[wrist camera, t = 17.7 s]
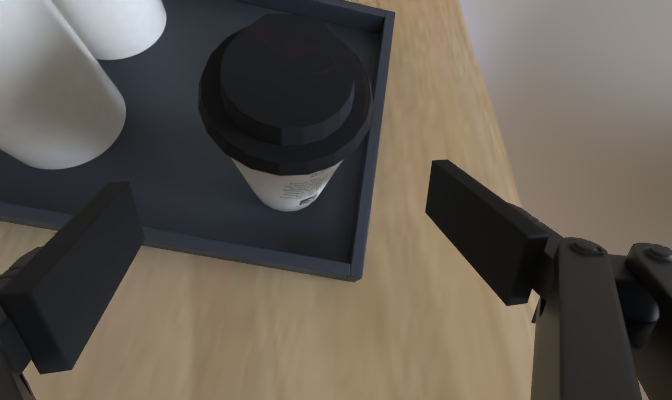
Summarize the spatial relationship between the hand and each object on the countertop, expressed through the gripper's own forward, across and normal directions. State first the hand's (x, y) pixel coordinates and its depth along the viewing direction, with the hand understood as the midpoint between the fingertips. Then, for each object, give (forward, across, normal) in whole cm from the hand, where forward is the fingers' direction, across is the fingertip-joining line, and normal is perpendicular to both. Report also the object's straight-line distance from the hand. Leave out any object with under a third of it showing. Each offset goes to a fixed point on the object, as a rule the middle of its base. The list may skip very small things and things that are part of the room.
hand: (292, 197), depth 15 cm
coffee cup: (+7, 0, -2) cm, 7 cm away
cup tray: (+11, -6, +2) cm, 12 cm away
